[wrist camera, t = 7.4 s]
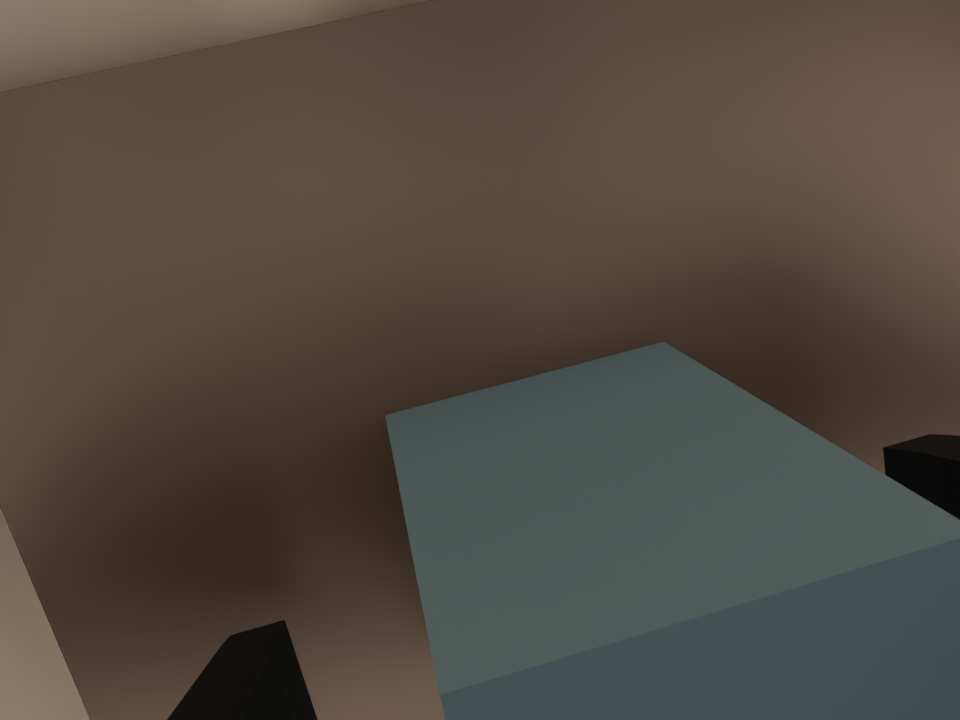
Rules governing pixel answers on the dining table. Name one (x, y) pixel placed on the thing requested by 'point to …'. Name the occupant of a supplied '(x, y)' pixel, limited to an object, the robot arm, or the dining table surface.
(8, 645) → the dining table surface
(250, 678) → the robot arm
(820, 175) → the walnut base
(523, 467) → the teal block
